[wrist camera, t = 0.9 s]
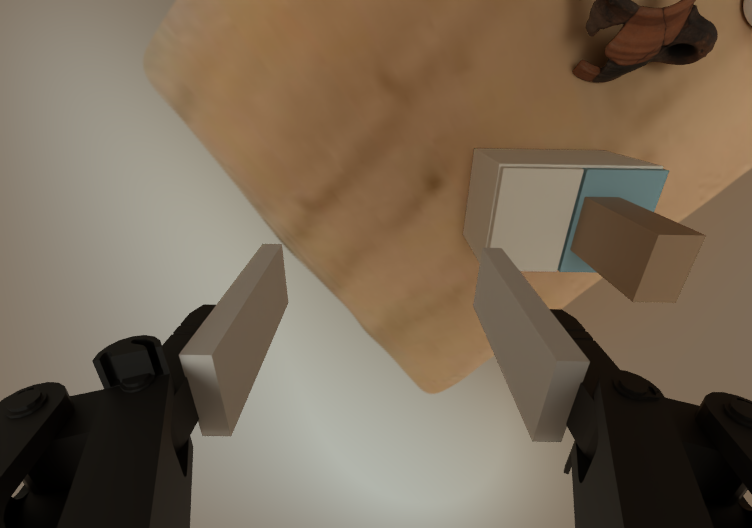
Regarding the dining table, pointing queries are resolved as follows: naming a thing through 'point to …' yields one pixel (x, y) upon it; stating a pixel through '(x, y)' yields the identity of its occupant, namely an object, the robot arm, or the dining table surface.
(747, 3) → the can
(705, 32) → the pottery mug
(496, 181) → the carton
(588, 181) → the flap
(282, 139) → the dining table surface
